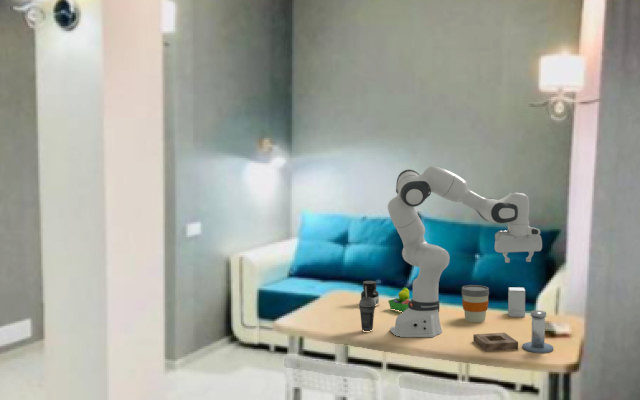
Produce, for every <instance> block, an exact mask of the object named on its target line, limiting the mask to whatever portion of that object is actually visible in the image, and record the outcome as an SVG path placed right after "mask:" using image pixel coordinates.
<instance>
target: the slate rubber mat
mask: <svg viewBox="0 0 640 400" xmlns="http://www.w3.org/2000/svg"><path fill="white" fill-rule="evenodd" d="M521 346H522V347H521V348H522V350H524V351H527V352H530V353H533V354H534V353H535V354H547V353H552V352H553V351H554V346H553V345H552V344H549V343H546V342H544V348H534V347H532V346H531V341H528V342H524V343H522V344H521Z"/></svg>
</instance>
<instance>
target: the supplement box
mask: <svg viewBox="0 0 640 400" xmlns="http://www.w3.org/2000/svg"><path fill="white" fill-rule="evenodd" d="M507 294H508V295H507V296H508V297H507V301H508V307H507V314H508V316H509V317H514V318H515V317H516V318H517V317H518V318H525V317H526V289H525V287H519V286H518V287H509V286H508V293H507Z"/></svg>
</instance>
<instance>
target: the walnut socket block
mask: <svg viewBox="0 0 640 400" xmlns="http://www.w3.org/2000/svg"><path fill="white" fill-rule="evenodd" d="M472 338H473V341H472V342H474V343H475V344H476V345H477V346H478V347H480V348H481V349H482V350H483V351H485V352H497V351H498V352H499V351H500V352H501V351H512V350H519V341H517V340H516V339H514V338H513V337H511V335H509V334H508V333H506V332H493V333H492V332H491V333H474V334H473V337H472Z"/></svg>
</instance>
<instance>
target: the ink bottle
mask: <svg viewBox="0 0 640 400" xmlns="http://www.w3.org/2000/svg"><path fill="white" fill-rule="evenodd" d="M365 286H366V291H367V296H368V297H371V298H372V299H373V300H374V302H375V305H376V304H378V303H379V300H380V299H379V297H380V293H379V291H377V281H376V280H375V281H374V280H365V281H362V289H363V290H362V292H361V293H360V300H361V299H362V298H363V297H366V293H365ZM379 304H380V303H379Z"/></svg>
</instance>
